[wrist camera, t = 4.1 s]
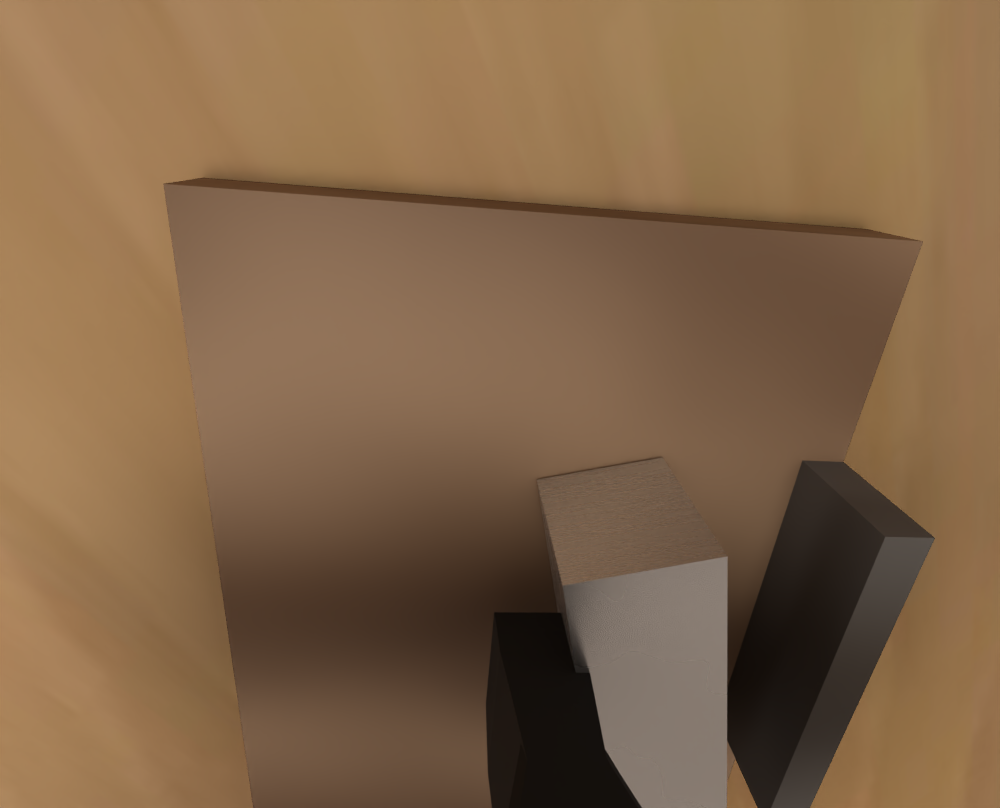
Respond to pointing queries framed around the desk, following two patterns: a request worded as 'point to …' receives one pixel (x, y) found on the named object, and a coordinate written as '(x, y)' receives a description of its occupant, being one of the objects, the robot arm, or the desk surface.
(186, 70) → the desk surface
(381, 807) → the walnut board
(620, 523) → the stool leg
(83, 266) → the desk surface
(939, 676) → the desk surface
